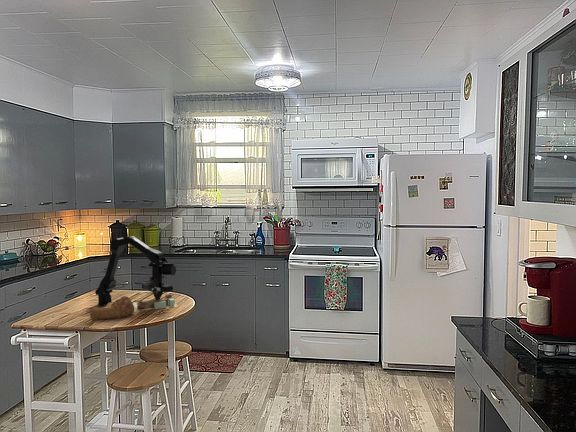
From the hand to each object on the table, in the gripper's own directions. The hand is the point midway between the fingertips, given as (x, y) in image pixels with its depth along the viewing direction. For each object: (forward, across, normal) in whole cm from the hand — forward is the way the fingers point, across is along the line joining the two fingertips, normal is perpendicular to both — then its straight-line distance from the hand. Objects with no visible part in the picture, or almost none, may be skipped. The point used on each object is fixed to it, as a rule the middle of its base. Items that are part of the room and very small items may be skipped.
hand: (157, 302), depth 263 cm
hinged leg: (+1, +1, -5) cm, 5 cm away
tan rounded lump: (+3, -2, -28) cm, 28 cm away
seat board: (+3, -2, 0) cm, 4 cm away
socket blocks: (+1, +6, -1) cm, 6 cm away
